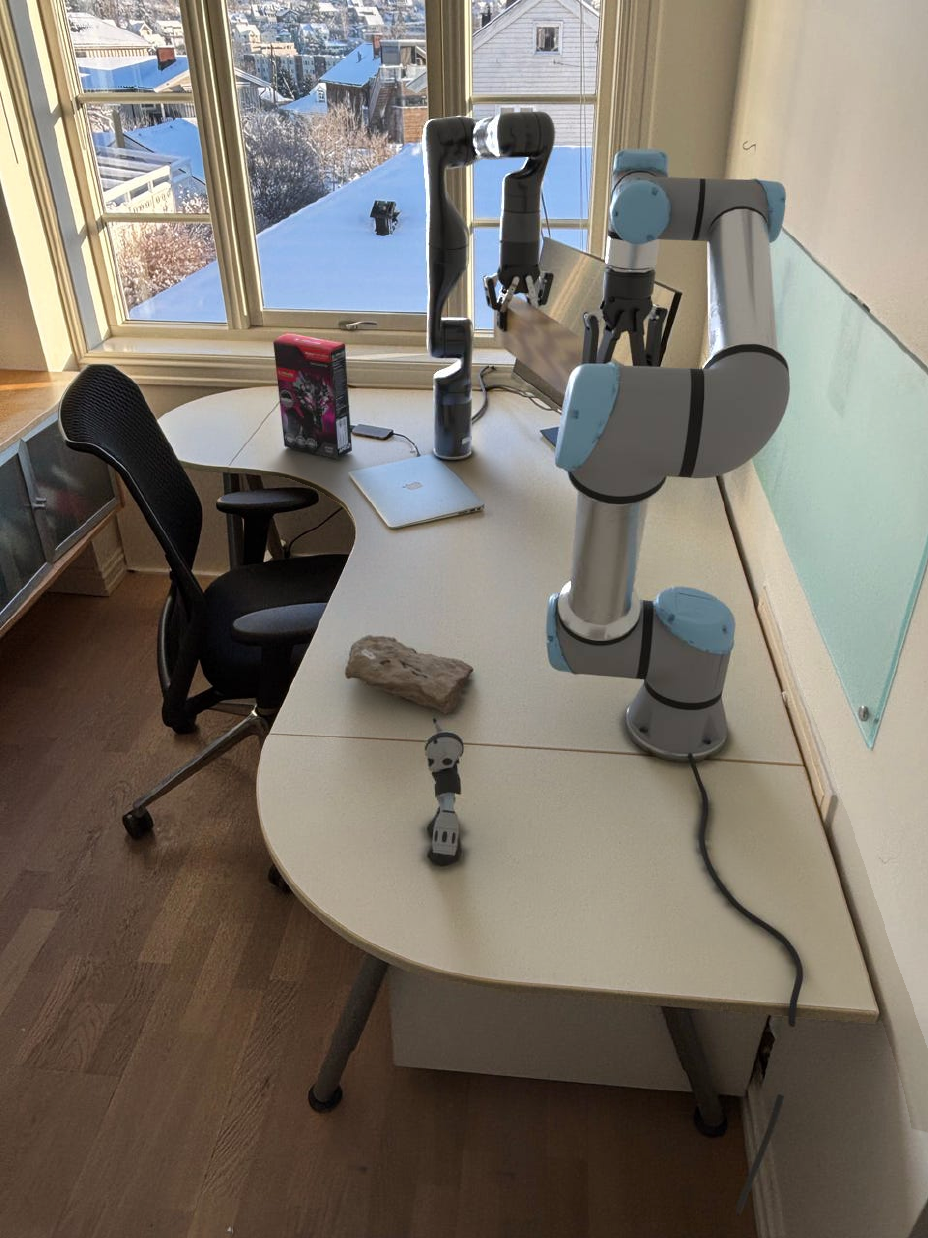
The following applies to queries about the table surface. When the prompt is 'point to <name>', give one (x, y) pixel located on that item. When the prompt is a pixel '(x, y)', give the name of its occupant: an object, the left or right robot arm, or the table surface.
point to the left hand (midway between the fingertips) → (516, 328)
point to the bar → (541, 343)
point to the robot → (444, 794)
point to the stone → (408, 672)
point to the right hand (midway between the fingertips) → (614, 417)
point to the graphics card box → (313, 395)
